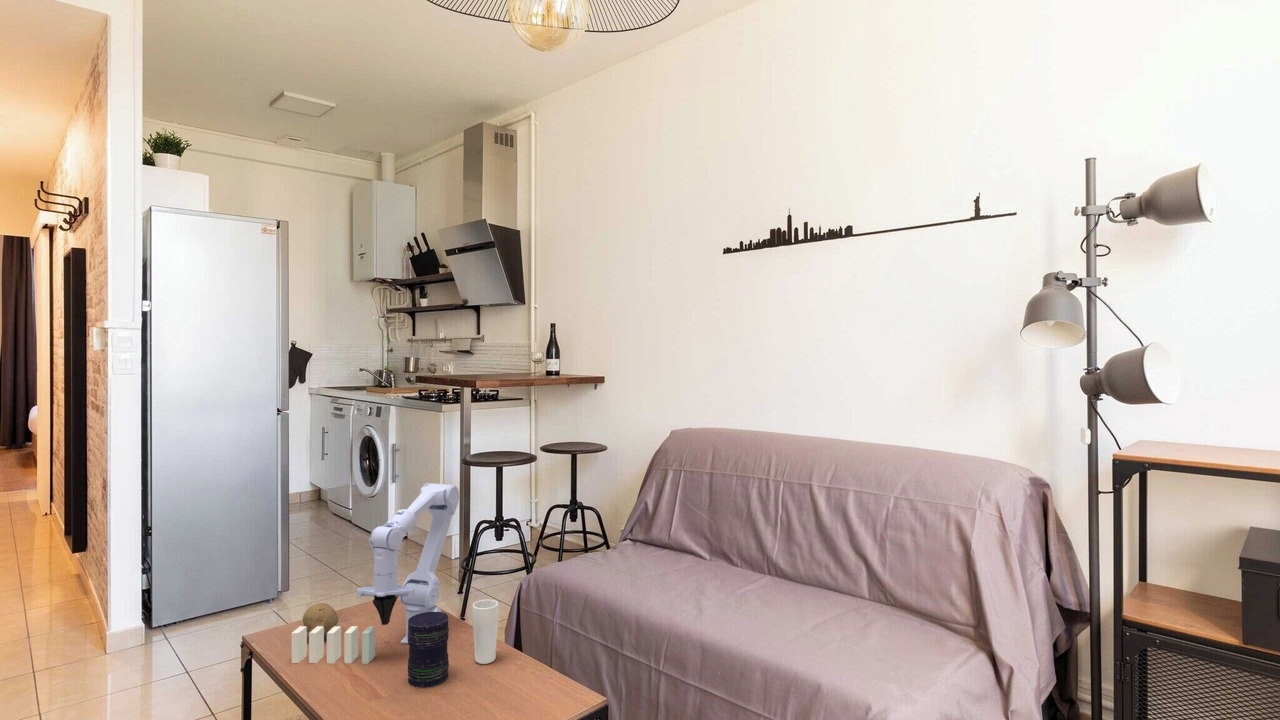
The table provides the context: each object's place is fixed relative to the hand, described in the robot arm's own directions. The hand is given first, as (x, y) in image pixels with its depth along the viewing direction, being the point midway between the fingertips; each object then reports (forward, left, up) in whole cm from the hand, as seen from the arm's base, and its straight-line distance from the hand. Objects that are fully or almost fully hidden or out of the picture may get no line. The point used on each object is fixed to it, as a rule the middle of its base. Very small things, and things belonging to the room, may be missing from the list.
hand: (385, 623), depth 178 cm
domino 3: (+14, 0, -10) cm, 17 cm away
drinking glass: (-27, 0, -10) cm, 28 cm away
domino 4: (+9, 0, -10) cm, 13 cm away
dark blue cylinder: (-15, +10, -10) cm, 20 cm away
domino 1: (+23, 0, -10) cm, 25 cm away
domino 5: (+4, 0, -10) cm, 11 cm away
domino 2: (+18, 0, -10) cm, 21 cm away
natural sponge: (+23, -14, -10) cm, 29 cm away
